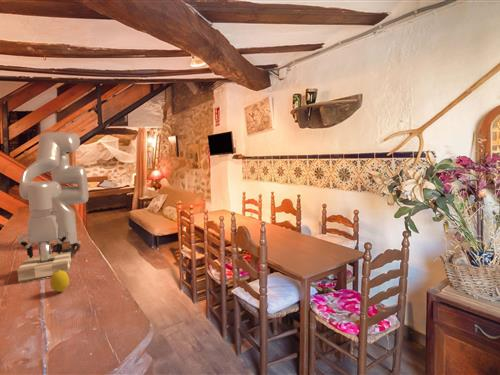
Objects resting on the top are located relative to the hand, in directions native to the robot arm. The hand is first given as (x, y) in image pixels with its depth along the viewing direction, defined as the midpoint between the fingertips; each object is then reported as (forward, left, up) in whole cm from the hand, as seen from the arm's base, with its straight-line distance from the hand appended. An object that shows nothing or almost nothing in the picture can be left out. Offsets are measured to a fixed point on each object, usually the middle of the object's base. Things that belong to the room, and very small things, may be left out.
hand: (45, 254), depth 122 cm
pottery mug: (-20, +5, -8) cm, 22 cm away
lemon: (+25, +7, -7) cm, 27 cm away
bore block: (0, 0, -7) cm, 7 cm away
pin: (0, 0, -6) cm, 6 cm away
